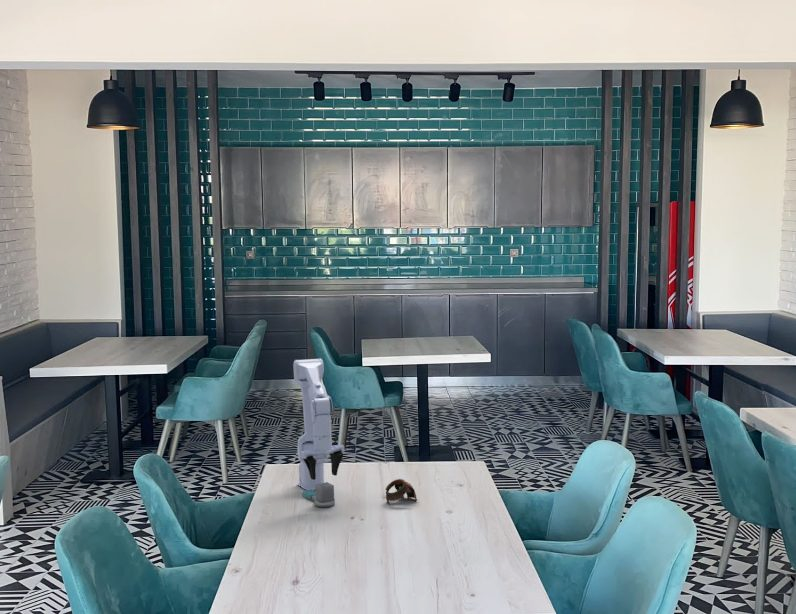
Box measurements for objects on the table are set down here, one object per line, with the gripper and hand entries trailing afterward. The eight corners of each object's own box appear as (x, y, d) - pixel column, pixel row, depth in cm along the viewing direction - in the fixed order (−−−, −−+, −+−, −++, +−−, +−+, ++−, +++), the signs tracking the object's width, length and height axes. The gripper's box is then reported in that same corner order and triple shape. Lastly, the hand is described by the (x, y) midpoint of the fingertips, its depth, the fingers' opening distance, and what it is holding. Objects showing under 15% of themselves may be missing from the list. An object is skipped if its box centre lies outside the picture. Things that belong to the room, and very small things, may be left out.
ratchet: (298, 496, 278) (297, 484, 278) (315, 493, 281) (315, 481, 281) (320, 509, 264) (319, 496, 264) (338, 505, 268) (337, 493, 267)
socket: (315, 499, 269) (315, 484, 269) (327, 497, 271) (327, 482, 271) (321, 503, 265) (321, 487, 265) (334, 500, 268) (333, 485, 267)
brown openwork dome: (421, 506, 267) (410, 486, 264) (395, 519, 267) (383, 500, 264) (415, 486, 278) (404, 467, 275) (389, 499, 278) (378, 480, 275)
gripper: (307, 440, 260) (308, 483, 261) (348, 434, 267) (349, 475, 268) (297, 436, 266) (299, 478, 267) (338, 430, 273) (339, 470, 274)
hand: (323, 476), depth 268 cm, fingers open, 7 cm apart
